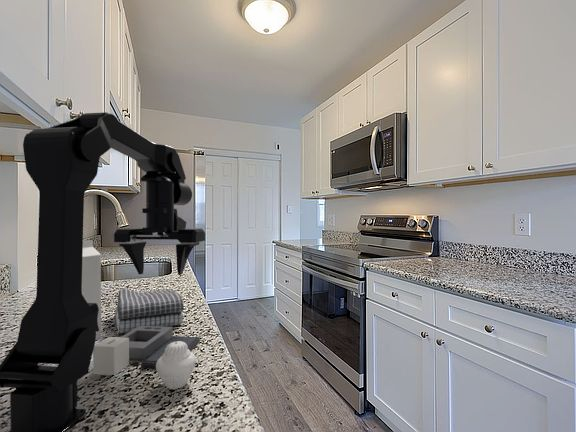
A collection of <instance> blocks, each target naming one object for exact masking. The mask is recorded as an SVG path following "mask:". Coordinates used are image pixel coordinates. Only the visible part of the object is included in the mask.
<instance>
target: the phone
mask: <svg viewBox="0 0 576 432" xmlns="http://www.w3.org/2000/svg"><path fill="white" fill-rule="evenodd" d="M176 341H182V342H185V343H186V344H187V346H188V349H189V350H190V352H192V350H194V348H196V346H198V344H199V343H200V341H201V337H200V336H180V335H179V336H178V335H173V337H172V338H171V339H169V340H168V341H167V342H166V343H164V344H163V345H162V346H161V347H159V348H158V349H157V350H156V351H154V352H153V353H152V354H151V355H149V356H148V357H147V358H146V359H144V360H143V361H140V368H142V369H153V370H156V363H157V361H158V360H159V358H160V357H161V356H162V355H163V354H164V353H165V348H166V347H167V345H168V344H170V343H172V342H176Z"/></svg>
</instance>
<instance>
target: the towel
mask: <svg viewBox="0 0 576 432" xmlns="http://www.w3.org/2000/svg"><path fill="white" fill-rule="evenodd" d="M116 304H117V307H115V311H114V317H115V323H116V329H117V332H118V334H127V333H128V332H130V331H132V330H133V329H135V328H137V327H138V326H160V327H173V326H178V325H181V324H183V323H184V314H183V311H184V309H185V308H184V307H185V306H184V301H183V298H182V296H181V294H180V293H178V292H175V290H174V289H173V288H172V289H171V288H168V289H158V290H150V291H144V292H138V291H134V290H131V289H128V288H121V289H120V290H119V291H118V295H117V303H116Z"/></svg>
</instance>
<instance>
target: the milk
mask: <svg viewBox="0 0 576 432" xmlns="http://www.w3.org/2000/svg"><path fill="white" fill-rule="evenodd" d="M101 256H102V255H101V253H100V251H98V250H97V249H96V248H95V247H94V244H93V240H91V239H88V240H83V254H82V295H83V297H84V298H85V300H86V301H87V303H97V305H98V308H99V311H98V319H97V322H98V327H99V331H98V332H96V340H98V339H100V338H102V271H101V270H102V262H101V261H102V260H101V258H102V257H101Z"/></svg>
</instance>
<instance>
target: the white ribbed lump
mask: <svg viewBox="0 0 576 432" xmlns="http://www.w3.org/2000/svg"><path fill="white" fill-rule="evenodd" d="M196 362H197V357H196V356H195V354H194V353H193V352H192V351H190V350H189V349H188V346H187V344H186V343H185V342H182V341H176V342H172V343H170V344H168V345H167V347H166V348H165V353H164V354H163V355H162V356H161V357H160V358H159V360H158V361H157V363H156V369H155V370H156V371H157V373H158V376H159V378H160V380H161V381H162V383H163V384H164V386H165V388H166V389H168V388H169V390H179V389H181V388H183V387H185V386H186V385H187V384H188V382H189V380H190V378H191V376H192V374H193V372H194V369H195V366H196ZM178 388H179V389H178Z"/></svg>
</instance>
